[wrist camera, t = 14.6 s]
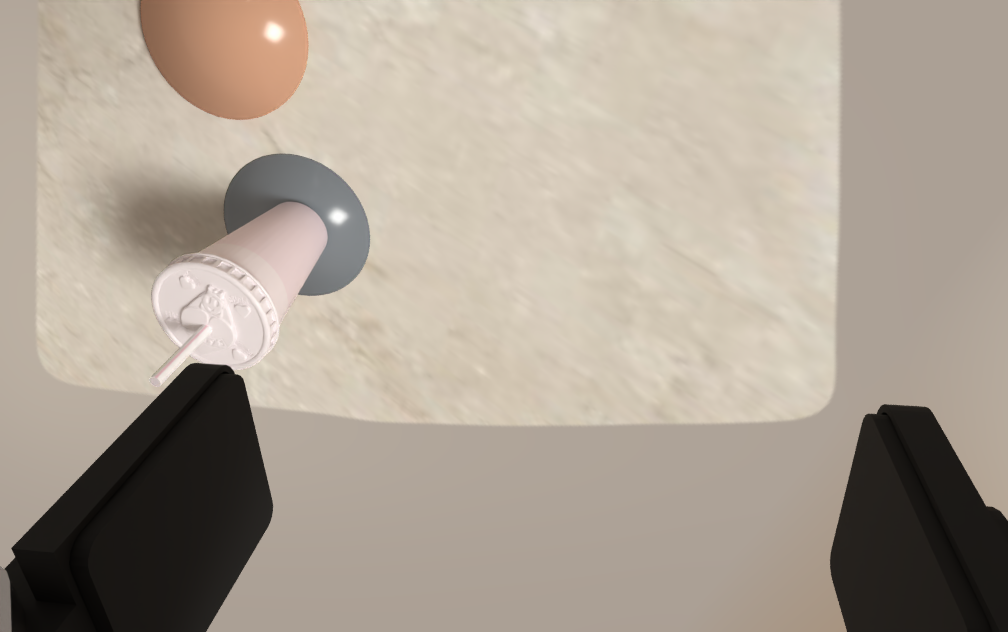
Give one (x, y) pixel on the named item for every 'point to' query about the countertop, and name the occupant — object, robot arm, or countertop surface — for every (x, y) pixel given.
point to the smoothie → (237, 289)
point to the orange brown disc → (228, 52)
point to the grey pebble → (319, 191)
